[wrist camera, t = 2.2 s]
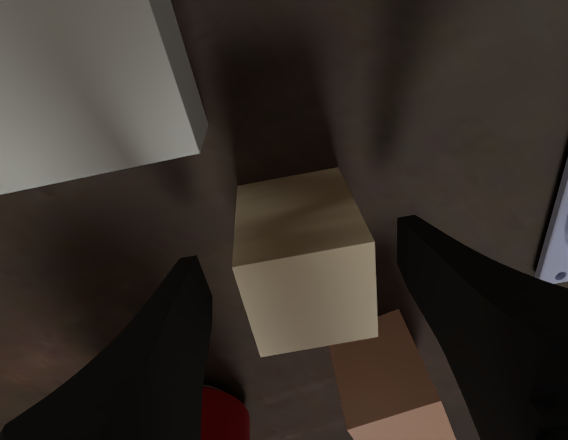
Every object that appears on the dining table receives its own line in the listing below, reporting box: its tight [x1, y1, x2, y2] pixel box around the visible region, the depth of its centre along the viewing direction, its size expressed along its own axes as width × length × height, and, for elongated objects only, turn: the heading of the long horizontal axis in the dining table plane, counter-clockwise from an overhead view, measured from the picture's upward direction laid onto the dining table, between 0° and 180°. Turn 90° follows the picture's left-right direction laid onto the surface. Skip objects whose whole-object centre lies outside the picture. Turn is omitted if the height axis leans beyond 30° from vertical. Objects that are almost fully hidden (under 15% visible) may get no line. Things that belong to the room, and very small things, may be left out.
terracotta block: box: [329, 309, 456, 440], centre depth 18 cm, size 4×4×5 cm
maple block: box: [232, 167, 378, 357], centre depth 13 cm, size 4×4×5 cm
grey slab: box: [0, 0, 208, 195], centre depth 10 cm, size 7×7×3 cm
